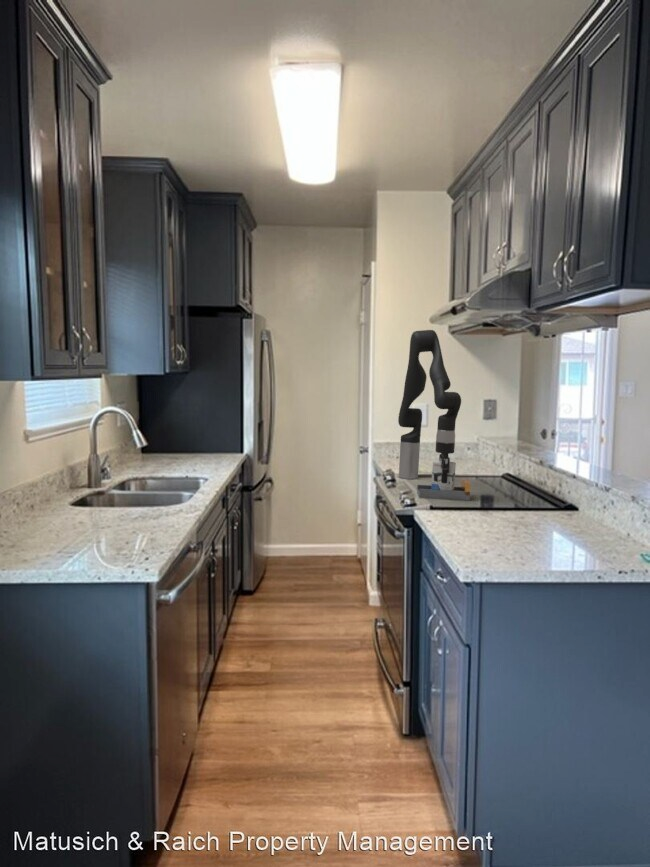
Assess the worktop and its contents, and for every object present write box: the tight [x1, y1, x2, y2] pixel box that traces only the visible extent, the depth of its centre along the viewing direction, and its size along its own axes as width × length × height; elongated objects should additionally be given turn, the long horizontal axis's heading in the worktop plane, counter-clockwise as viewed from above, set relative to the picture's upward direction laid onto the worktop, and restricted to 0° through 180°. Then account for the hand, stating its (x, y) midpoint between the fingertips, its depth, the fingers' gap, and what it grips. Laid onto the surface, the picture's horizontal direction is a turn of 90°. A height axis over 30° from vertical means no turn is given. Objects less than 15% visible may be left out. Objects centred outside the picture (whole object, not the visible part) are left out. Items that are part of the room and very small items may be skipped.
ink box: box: [430, 459, 457, 491], centre depth 244 cm, size 8×5×12 cm, turn 62°
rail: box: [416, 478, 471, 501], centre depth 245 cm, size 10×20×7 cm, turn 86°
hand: (443, 481), depth 245 cm, fingers closed on ink box, 6 cm apart
